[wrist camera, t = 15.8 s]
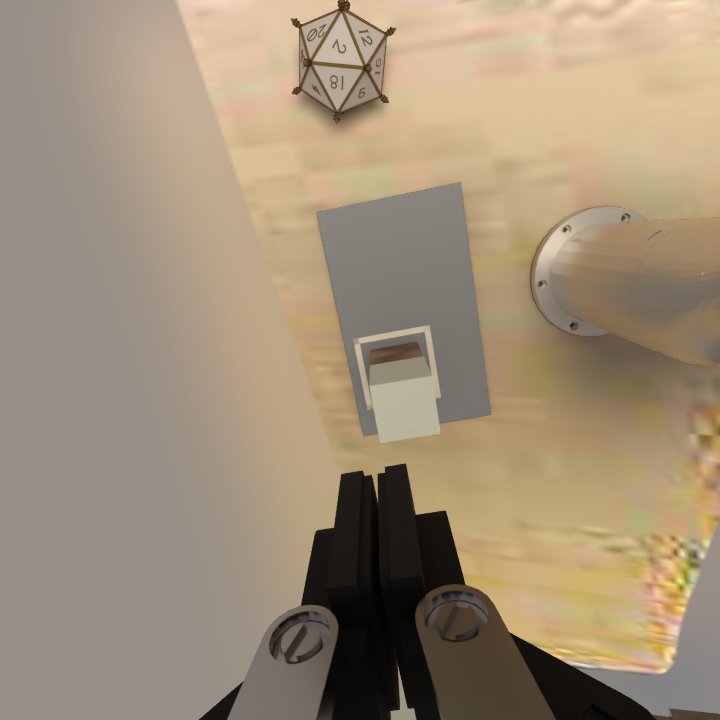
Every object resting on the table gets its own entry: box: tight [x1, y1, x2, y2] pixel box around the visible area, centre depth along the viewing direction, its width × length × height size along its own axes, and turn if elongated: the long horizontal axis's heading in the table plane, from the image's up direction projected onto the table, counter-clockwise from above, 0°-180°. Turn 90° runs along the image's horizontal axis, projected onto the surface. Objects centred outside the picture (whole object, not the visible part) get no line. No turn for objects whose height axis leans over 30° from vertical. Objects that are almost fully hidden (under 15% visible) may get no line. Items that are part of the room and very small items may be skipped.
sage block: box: [369, 356, 441, 443], centre depth 40 cm, size 5×5×6 cm
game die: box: [291, 0, 396, 124], centre depth 38 cm, size 9×8×10 cm
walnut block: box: [369, 342, 423, 366], centre depth 45 cm, size 5×5×6 cm
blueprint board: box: [317, 182, 491, 436], centre depth 47 cm, size 14×24×1 cm, turn 11°
